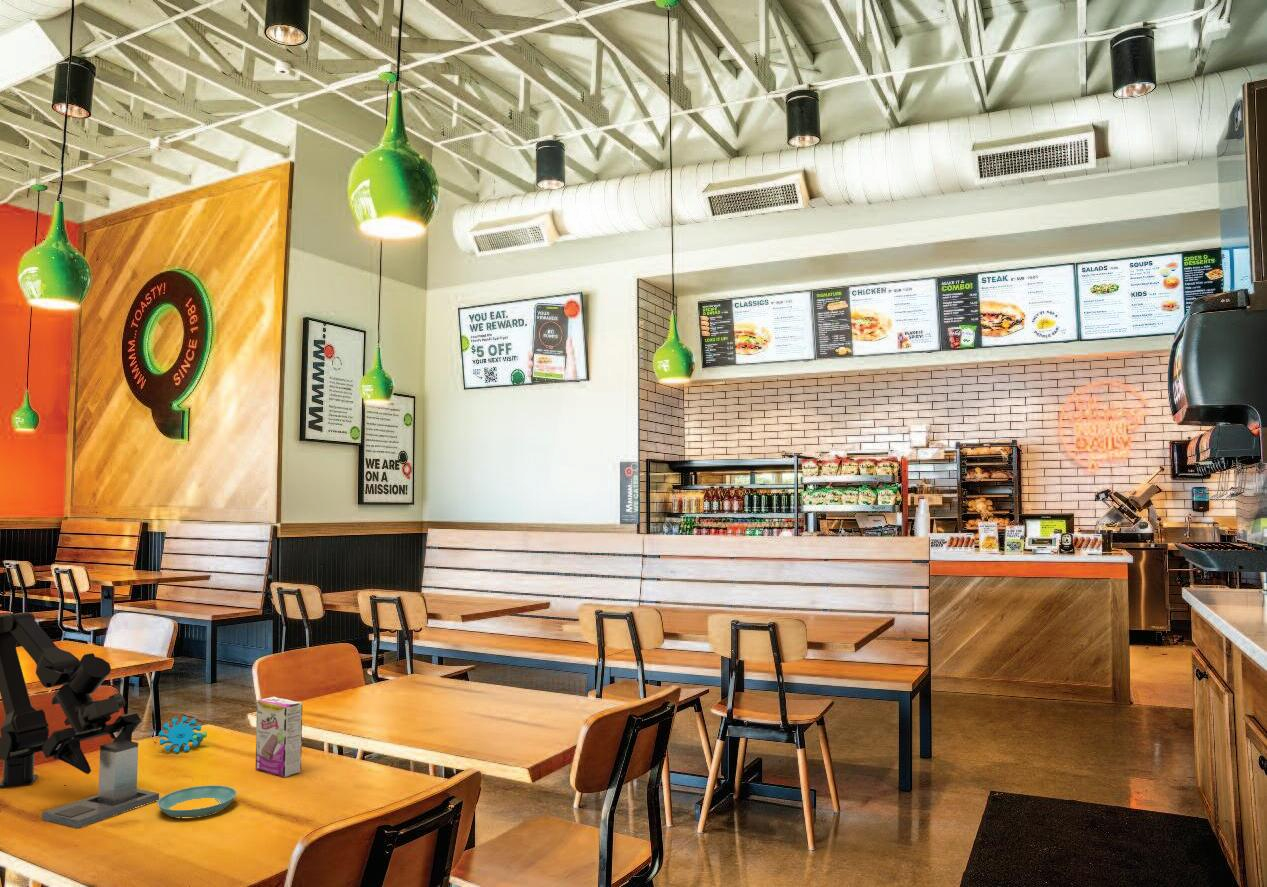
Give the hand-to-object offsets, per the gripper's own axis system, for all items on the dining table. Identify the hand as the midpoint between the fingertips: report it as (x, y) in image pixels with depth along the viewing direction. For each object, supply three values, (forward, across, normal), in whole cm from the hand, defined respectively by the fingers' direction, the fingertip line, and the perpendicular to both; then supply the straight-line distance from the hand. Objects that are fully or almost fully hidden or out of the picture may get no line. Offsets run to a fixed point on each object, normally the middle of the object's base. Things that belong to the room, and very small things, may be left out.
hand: (110, 766), depth 187 cm
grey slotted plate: (+7, -3, +3) cm, 9 cm away
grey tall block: (+7, 0, +3) cm, 8 cm away
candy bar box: (+16, +31, -6) cm, 35 cm away
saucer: (+19, +6, -8) cm, 22 cm away
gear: (-9, +34, +20) cm, 40 cm away
